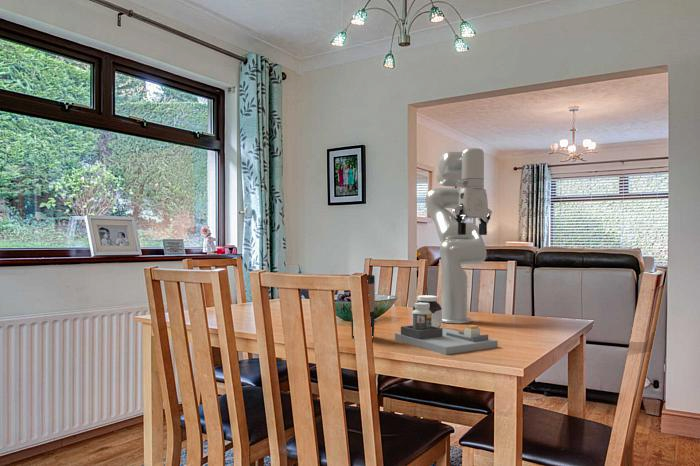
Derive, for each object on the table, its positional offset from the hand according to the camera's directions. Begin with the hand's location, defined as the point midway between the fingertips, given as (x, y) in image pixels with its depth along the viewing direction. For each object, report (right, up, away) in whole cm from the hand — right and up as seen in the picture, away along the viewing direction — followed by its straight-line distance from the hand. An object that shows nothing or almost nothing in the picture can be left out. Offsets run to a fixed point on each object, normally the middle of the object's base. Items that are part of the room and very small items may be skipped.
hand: (472, 234), depth 180 cm
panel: (-13, -33, -19) cm, 41 cm away
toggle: (-5, -31, -23) cm, 39 cm away
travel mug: (-38, -33, -11) cm, 52 cm away
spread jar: (-15, -34, +3) cm, 37 cm away
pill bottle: (-20, -31, -18) cm, 41 cm away
